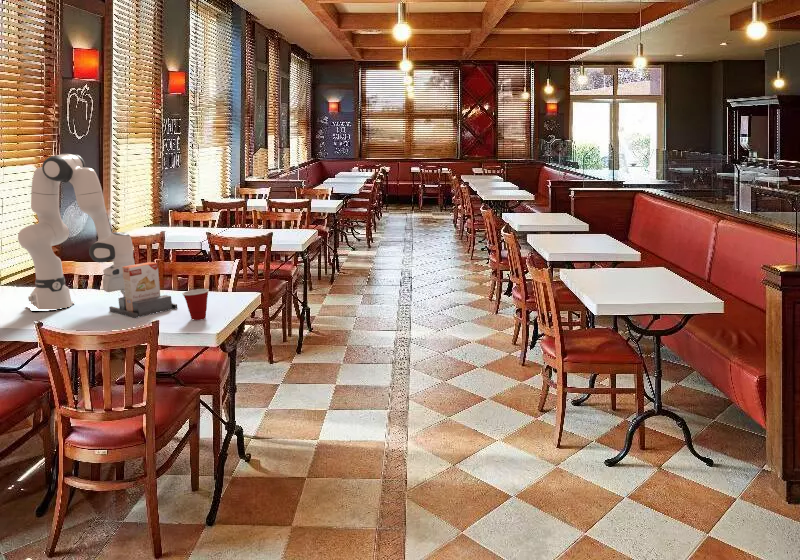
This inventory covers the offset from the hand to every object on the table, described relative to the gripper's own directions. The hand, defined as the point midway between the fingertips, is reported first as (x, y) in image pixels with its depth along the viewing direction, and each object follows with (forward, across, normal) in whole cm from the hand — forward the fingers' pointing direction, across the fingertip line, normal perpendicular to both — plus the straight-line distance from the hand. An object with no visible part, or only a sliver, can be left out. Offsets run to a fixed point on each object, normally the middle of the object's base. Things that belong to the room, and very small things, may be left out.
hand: (127, 298), depth 327 cm
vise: (+4, 0, +13) cm, 14 cm away
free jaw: (+4, -1, +9) cm, 10 cm away
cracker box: (+4, 0, +14) cm, 15 cm away
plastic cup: (+4, -6, +46) cm, 47 cm away
